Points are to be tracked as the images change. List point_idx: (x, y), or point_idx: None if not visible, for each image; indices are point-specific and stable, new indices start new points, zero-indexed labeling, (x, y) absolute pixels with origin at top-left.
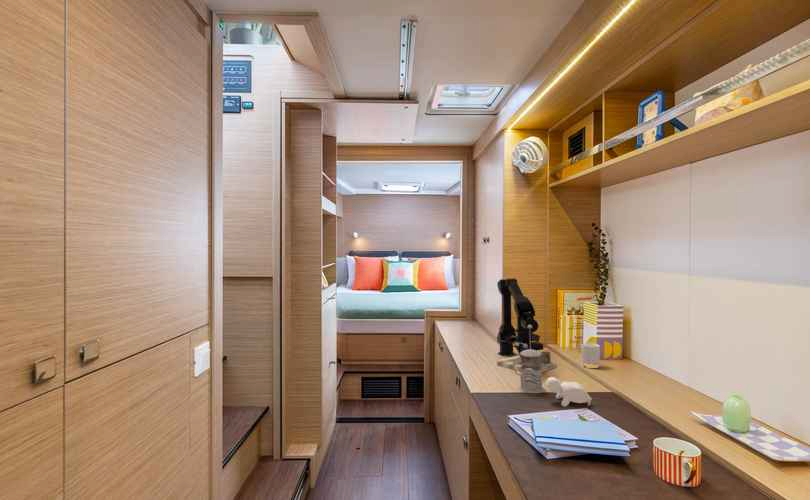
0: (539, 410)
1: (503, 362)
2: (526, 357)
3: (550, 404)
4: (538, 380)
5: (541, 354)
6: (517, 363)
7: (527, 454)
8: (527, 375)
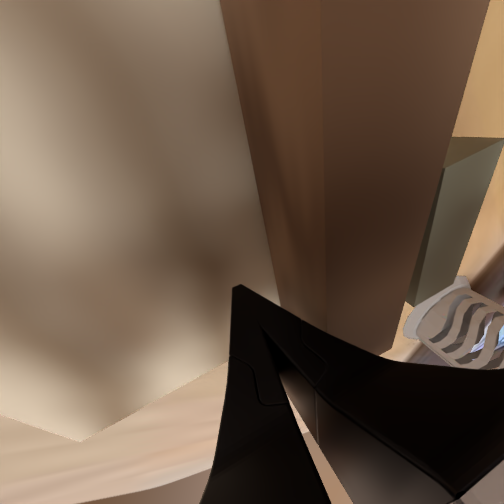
0: (487, 322)
1: (148, 402)
2: (387, 349)
3: (498, 297)
4: (472, 302)
5: (467, 75)
6: (205, 322)
7: (500, 352)
8: (497, 365)
